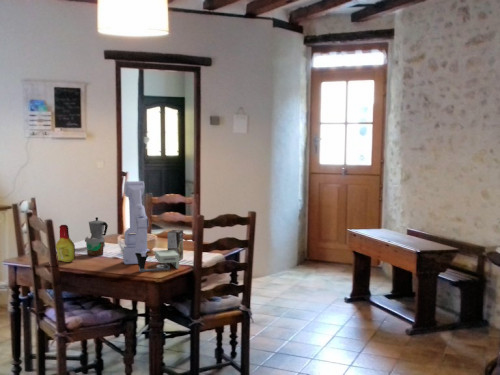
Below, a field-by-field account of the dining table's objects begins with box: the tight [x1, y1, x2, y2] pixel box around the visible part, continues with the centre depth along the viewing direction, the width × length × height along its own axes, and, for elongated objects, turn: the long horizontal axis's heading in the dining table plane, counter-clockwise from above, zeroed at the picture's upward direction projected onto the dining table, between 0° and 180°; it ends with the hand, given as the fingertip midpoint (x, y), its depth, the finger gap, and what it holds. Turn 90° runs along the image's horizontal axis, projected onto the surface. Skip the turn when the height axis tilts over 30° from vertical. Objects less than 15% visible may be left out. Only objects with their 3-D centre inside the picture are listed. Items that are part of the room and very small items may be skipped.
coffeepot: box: [88, 217, 109, 247], centre depth 345 cm, size 15×9×18 cm, turn 59°
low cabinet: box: [154, 249, 180, 269], centre depth 298 cm, size 10×15×7 cm
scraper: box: [138, 262, 171, 273], centre depth 292 cm, size 15×11×6 cm
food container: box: [84, 236, 106, 257], centre depth 321 cm, size 12×6×10 cm, turn 68°
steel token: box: [155, 264, 166, 269], centre depth 296 cm, size 5×5×1 cm
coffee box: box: [167, 229, 184, 262], centre depth 312 cm, size 9×6×16 cm
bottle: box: [55, 224, 76, 263], centre depth 305 cm, size 12×6×20 cm, turn 60°
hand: (141, 267), depth 286 cm, fingers closed on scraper, 2 cm apart
